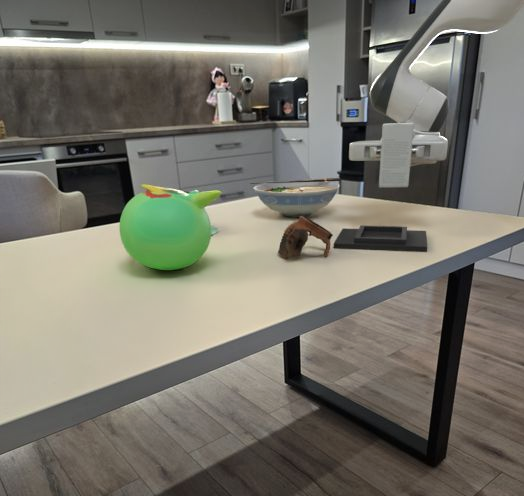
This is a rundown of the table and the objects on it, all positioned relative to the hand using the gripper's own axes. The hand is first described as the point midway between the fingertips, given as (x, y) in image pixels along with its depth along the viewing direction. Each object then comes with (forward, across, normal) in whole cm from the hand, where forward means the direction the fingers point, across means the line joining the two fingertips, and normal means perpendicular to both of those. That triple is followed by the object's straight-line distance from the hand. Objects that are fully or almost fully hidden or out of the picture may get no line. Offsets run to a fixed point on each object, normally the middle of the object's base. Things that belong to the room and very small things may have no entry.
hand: (395, 153), depth 97 cm
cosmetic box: (-1, 0, +7) cm, 7 cm away
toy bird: (+30, -37, +17) cm, 51 cm away
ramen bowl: (-22, -25, +17) cm, 38 cm away
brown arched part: (+19, -15, +17) cm, 29 cm away
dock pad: (+5, -1, +17) cm, 18 cm away
